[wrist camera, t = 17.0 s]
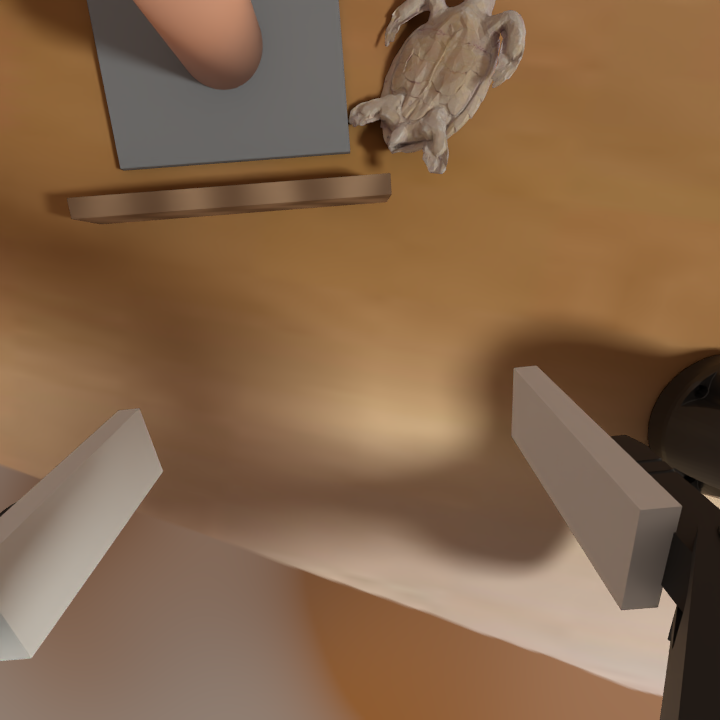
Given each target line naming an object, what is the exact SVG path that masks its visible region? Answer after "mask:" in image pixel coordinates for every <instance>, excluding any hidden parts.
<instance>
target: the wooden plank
mask: <svg viewBox="0 0 720 720" xmlns="http://www.w3.org/2000/svg"><path fill="white" fill-rule="evenodd" d="M390 196H391V177H390V173H387V174H374V175H361V176H348V177H335V178H322V179H309V180H296V181H283V182H270V183H257V184H244V185H231V186H218V187H204V188H191V189H178V190H165V191H152V192H139V193H126V194H113V195H100V196H87V197H74V198H67V201H68V206H69V210H70V214H71V219H74V220H80V221H86V222H91V223H97V224H109V223H122V222H135V221H148V220H161V219H173V218H186V217H199V216H212V215H225V214H238V213H250V212H263V211H276V210H289V209H302V208H315V207H327V206H340V205H353V204H366V203H379V202H387V200H388V199H389V197H390Z"/></svg>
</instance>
